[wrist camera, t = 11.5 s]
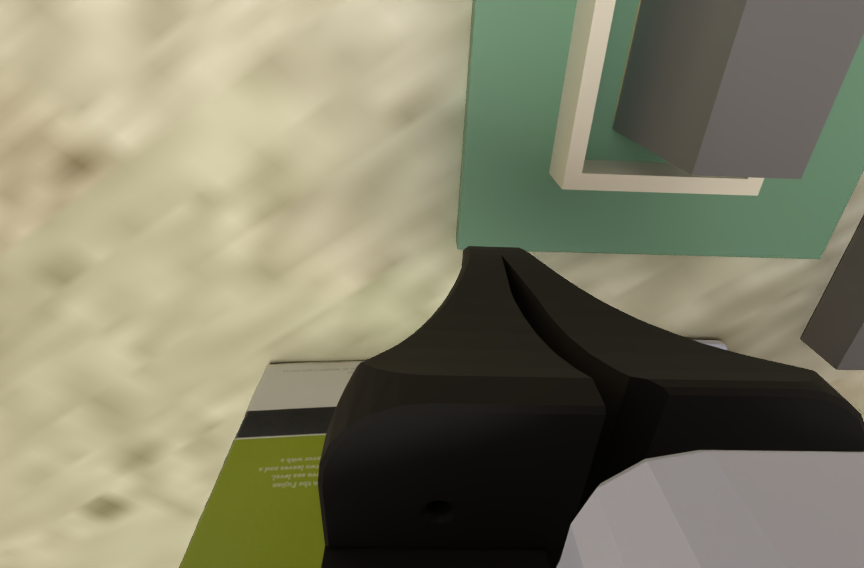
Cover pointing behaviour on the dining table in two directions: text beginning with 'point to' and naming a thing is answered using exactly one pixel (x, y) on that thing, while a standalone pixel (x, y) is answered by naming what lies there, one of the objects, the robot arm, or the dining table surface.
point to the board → (619, 151)
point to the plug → (736, 81)
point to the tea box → (273, 474)
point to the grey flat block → (842, 312)
